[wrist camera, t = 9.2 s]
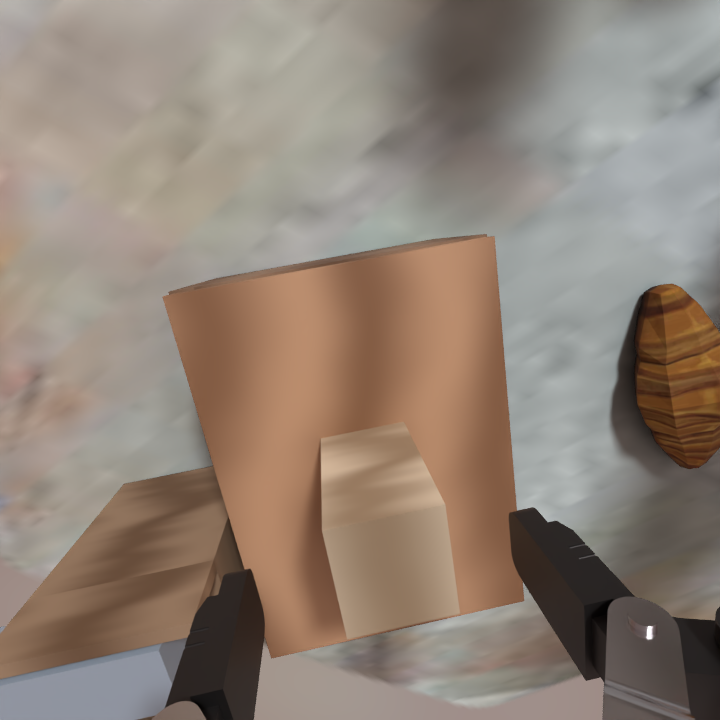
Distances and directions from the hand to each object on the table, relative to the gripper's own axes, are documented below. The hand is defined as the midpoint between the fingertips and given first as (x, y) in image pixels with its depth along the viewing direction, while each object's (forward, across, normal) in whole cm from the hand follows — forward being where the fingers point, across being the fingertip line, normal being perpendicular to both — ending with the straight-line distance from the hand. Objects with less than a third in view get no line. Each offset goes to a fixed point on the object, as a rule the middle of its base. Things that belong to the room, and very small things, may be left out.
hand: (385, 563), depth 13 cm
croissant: (+15, -22, +3) cm, 27 cm away
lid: (+7, 0, 0) cm, 7 cm away
